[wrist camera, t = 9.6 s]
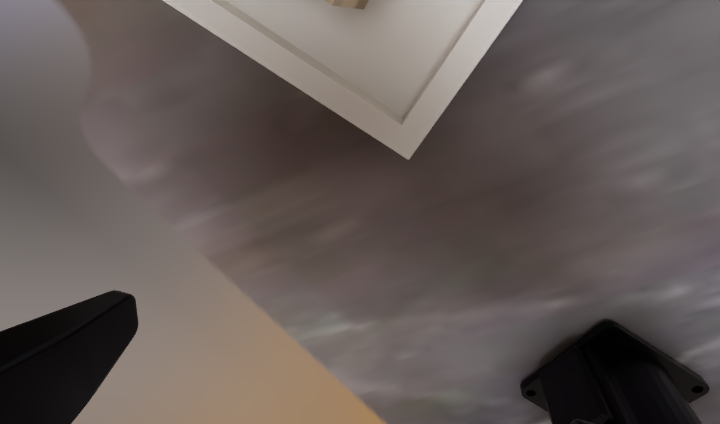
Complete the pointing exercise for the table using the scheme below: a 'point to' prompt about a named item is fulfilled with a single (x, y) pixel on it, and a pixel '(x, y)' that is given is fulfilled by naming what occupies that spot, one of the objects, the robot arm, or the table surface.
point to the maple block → (348, 3)
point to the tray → (364, 53)
